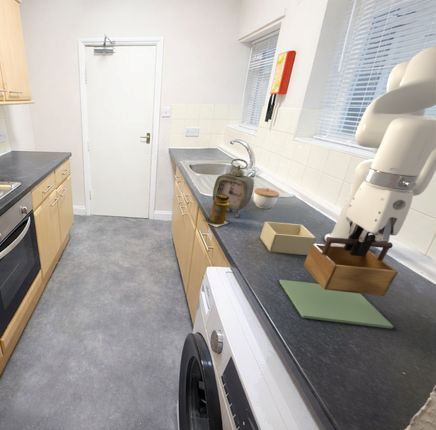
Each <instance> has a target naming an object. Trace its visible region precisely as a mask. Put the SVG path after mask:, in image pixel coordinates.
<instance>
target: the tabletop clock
mask: <svg viewBox="0 0 436 430" xmlns="http://www.w3.org/2000/svg"><path fill="white" fill-rule="evenodd" d="M236 161H240V162H243V163H245V167H241V166H240V165H239V164H238V165H234V164H233V162H236ZM230 163H231V166H232V167H233V170H232V171H231V172H226V173H224V174H220V175H218V176H217V178H216V180H215V183H214V186H213V189H212V201H213V202H214V200H215V198H216V194H225V195H228V196H229V201H228V203H229V205H228V209H227V210H228V211H229V212H232V211H236V214H235V217H236V218H240V217H241V215H240V214H239V213H240V211H241V210H242V209H244V208H246V207H247V206H248V205H249V204H250V201H251V199H252V196H253V194H254V189H255V188H254V187H255V182H254V179H253V178H252V177H250V176H248V175H244V172H243V170H246V169H247V168H248V167H249V166H248V165H249V163H248V162H247V161H246V160H245V159H242V158H234V159H233V160H232V161H231V162H230ZM213 202H212V203H213Z"/></svg>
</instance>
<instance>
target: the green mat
mask: <svg viewBox="0 0 436 430" xmlns="http://www.w3.org/2000/svg"><path fill="white" fill-rule="evenodd" d="M278 283H279V284H280V285H281V287H282V289H283V290H284V291H285V293H286V294H287V296H288V298H289V299H290V301H291V302H292V304H293V305H294V308H295V309H296V310H297V312H298V314H299V315H300V316H301V318H303V319H310V320H316V321H317V320H319V321H327V322H334V323H343V324H349V325H350V324H351V325H358V326H367V327H374V328H383V329H393V328H394V325H393V324H392V323H391V322H390V321H389V320H388V319H387V318H386V317H384V315H383V314H382V313H380V311H378V309H377V308H376V307H375V306H374V305H373V304H371V302H369V300H367V298H366V297H365V296H364V295H363V294H360V293H351V292H342V291H333V290H324V289H323V288H322V287H321V285H320V284H319V283H318V282H317V283H315V282H307V281H298V280H288V279H279V282H278Z"/></svg>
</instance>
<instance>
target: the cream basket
mask: <svg viewBox="0 0 436 430" xmlns="http://www.w3.org/2000/svg"><path fill="white" fill-rule="evenodd" d="M259 239H260V240H261V241H262V243H263V245H264V246H265V247H266V249H267V250H268V251H269V252H270V253H278V254H279V253H280V254H290V255H299V256H307V255H308V253H309V250H310V248H311V245H312V244H316V240H317V236H315V235H314V234H313V233H312V232H310V230H308V228H306V226H304V224H300V223H299V224H298V223H288V222H276V221H274V222H273V221H264V222H263V226H262V229H261V233H260V235H259Z"/></svg>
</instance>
